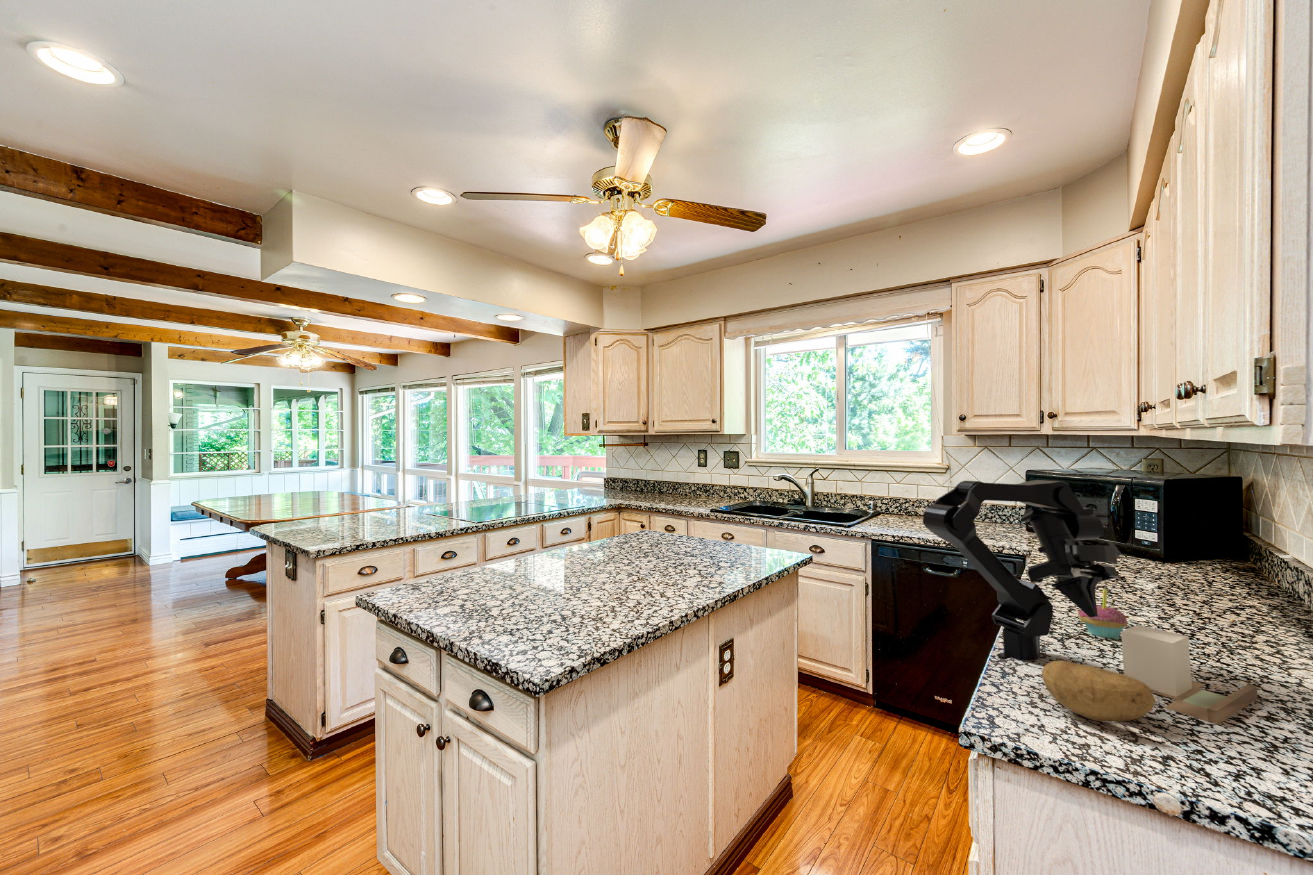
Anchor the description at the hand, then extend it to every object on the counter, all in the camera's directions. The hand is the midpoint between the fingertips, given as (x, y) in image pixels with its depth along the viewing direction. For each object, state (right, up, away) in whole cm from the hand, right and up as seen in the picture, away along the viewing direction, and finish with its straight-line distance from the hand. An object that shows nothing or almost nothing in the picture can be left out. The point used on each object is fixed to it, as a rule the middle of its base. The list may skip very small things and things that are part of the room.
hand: (1093, 617), depth 100 cm
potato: (-13, -11, -16) cm, 23 cm away
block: (+5, -9, -8) cm, 13 cm away
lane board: (+5, -10, -11) cm, 16 cm away
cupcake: (+16, -11, +17) cm, 26 cm away
